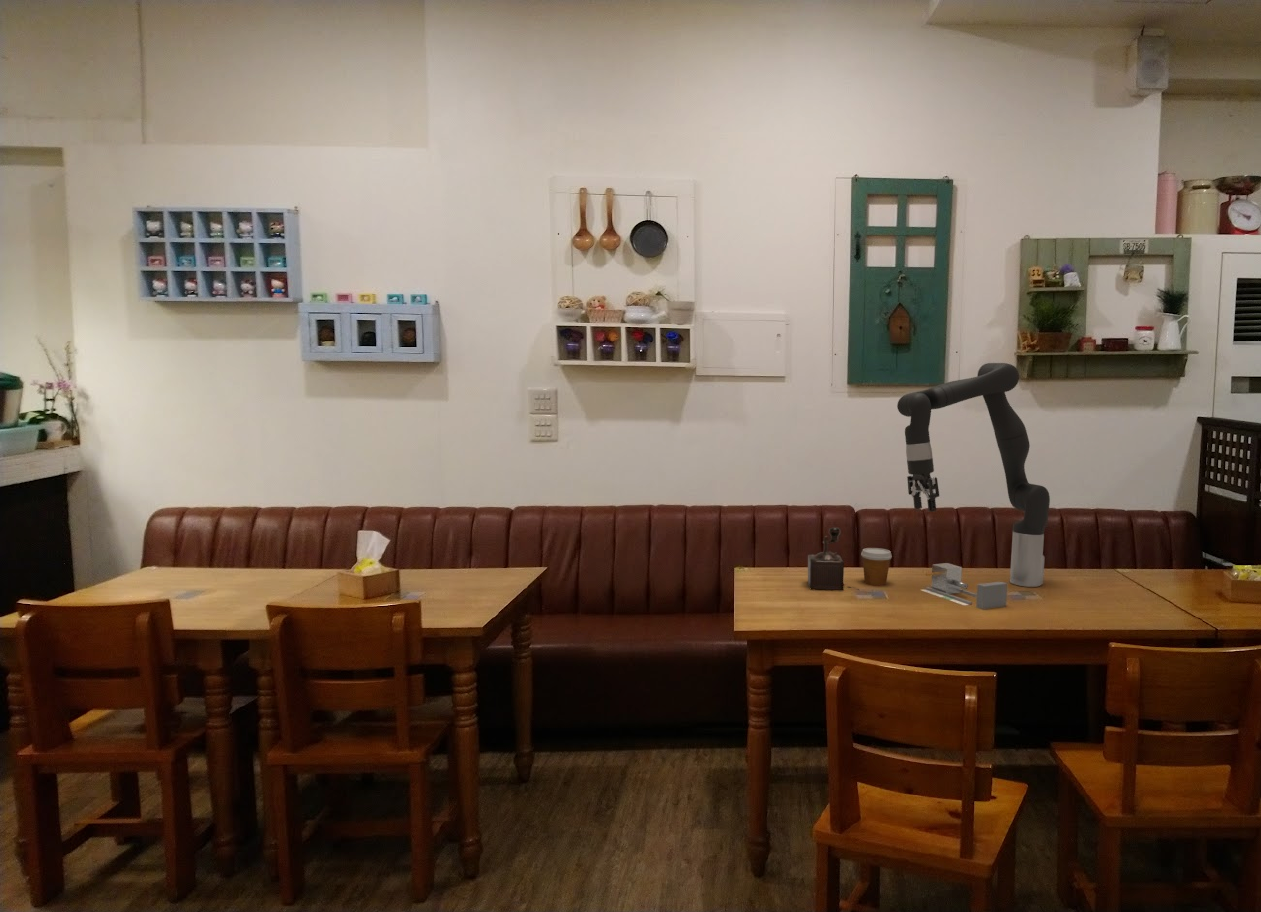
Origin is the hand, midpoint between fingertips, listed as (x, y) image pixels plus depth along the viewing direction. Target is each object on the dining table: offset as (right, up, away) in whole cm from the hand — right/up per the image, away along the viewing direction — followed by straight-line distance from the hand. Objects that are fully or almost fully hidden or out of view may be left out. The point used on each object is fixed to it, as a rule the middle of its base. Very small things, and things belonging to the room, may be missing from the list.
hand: (925, 509), depth 247 cm
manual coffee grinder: (-28, -26, +14) cm, 40 cm away
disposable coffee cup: (-12, -26, +11) cm, 31 cm away
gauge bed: (+10, -28, -5) cm, 29 cm away
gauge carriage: (+6, -26, -2) cm, 26 cm away
